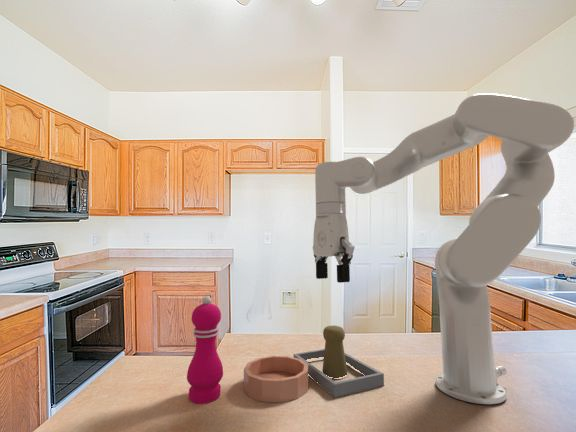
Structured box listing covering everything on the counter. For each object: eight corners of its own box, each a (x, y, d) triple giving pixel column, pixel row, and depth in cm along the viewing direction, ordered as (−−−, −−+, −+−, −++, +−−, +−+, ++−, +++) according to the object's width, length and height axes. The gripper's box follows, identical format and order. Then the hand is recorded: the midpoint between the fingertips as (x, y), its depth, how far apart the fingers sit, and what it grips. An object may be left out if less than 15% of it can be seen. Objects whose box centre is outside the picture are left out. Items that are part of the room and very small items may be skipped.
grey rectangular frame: (334, 356, 83) (334, 347, 83) (384, 385, 65) (383, 373, 66) (293, 364, 78) (293, 354, 78) (334, 397, 60) (334, 384, 61)
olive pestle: (347, 380, 68) (346, 330, 69) (320, 378, 69) (320, 329, 71) (347, 369, 74) (346, 323, 75) (323, 368, 75) (322, 322, 76)
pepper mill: (185, 391, 63) (188, 294, 66) (220, 385, 66) (221, 292, 68) (186, 408, 57) (189, 300, 59) (225, 401, 59) (226, 297, 61)
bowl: (291, 369, 75) (291, 352, 75) (319, 393, 62) (319, 373, 63) (237, 379, 69) (237, 361, 70) (256, 408, 57) (256, 385, 57)
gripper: (302, 214, 82) (302, 277, 80) (337, 206, 67) (338, 284, 65) (325, 215, 85) (326, 276, 84) (364, 207, 70) (367, 283, 68)
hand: (332, 280), depth 74 cm, fingers open, 9 cm apart
